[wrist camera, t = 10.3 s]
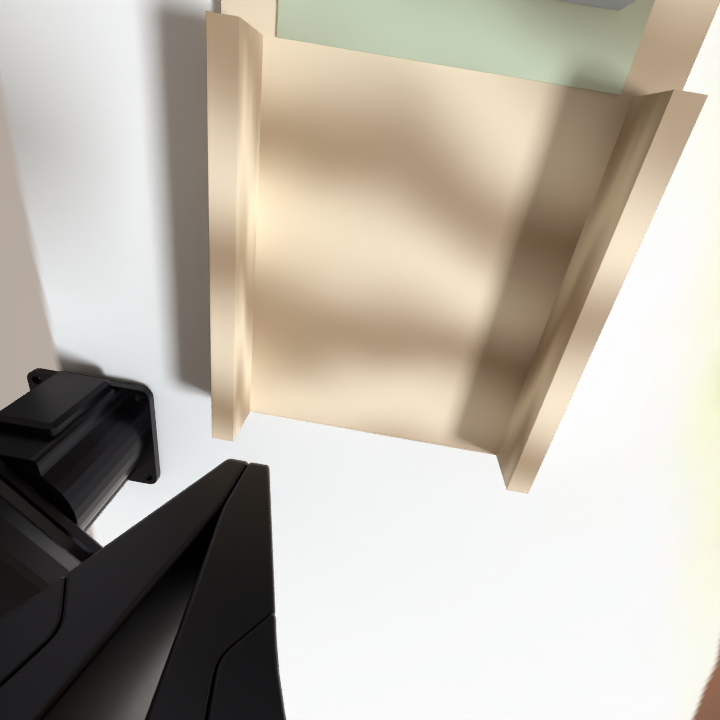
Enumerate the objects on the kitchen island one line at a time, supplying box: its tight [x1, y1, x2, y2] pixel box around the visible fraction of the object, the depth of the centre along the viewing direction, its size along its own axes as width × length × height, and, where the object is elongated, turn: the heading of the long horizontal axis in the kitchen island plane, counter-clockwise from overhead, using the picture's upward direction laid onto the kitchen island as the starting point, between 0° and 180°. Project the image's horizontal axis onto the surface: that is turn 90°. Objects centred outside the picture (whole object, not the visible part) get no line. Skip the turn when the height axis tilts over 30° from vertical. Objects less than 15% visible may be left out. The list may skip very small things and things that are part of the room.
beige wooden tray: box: [206, 0, 720, 493], centre depth 16 cm, size 24×16×3 cm, turn 172°
